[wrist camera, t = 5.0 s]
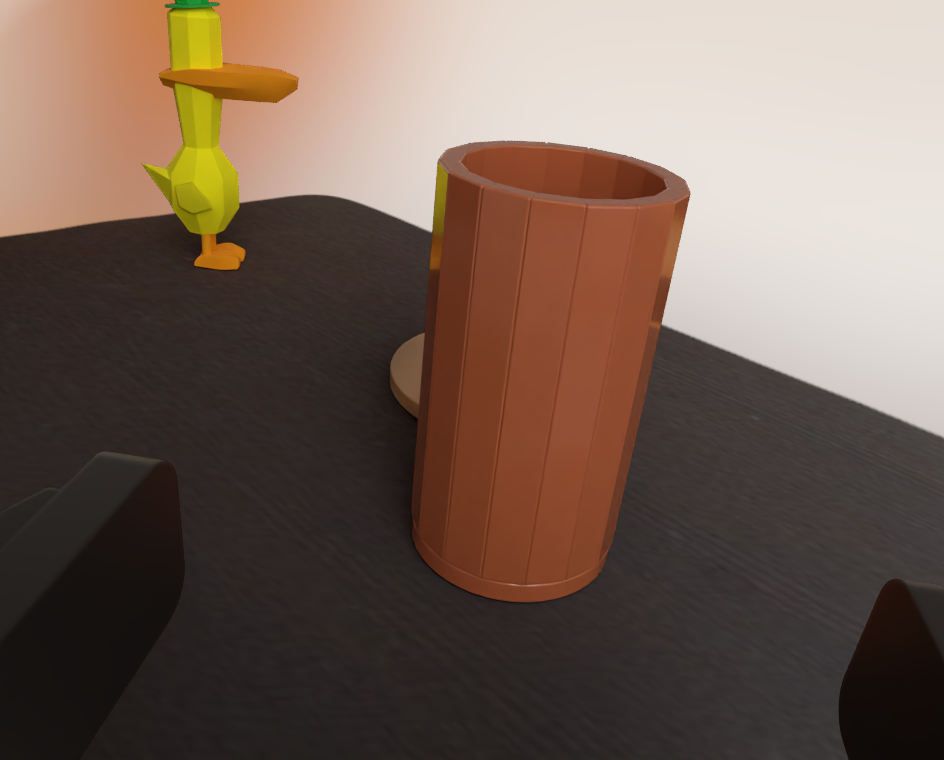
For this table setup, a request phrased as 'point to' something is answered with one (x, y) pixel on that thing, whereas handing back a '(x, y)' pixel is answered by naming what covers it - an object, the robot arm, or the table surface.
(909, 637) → the robot arm
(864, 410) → the table surface
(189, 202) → the toy figure
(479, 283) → the pot
